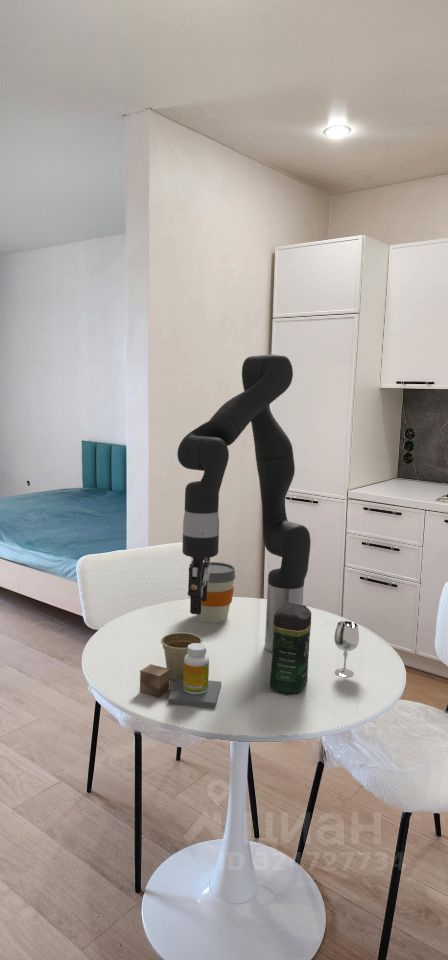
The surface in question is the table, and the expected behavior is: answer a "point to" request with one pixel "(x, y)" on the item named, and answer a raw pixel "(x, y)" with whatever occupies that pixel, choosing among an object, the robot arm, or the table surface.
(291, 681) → the coffee jar
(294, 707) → the table surface
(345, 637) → the wineglass
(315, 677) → the table surface
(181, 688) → the coaster
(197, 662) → the supplement bottle
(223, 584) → the reusable coffee cup
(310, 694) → the table surface
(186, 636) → the flower pot
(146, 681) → the walnut block
